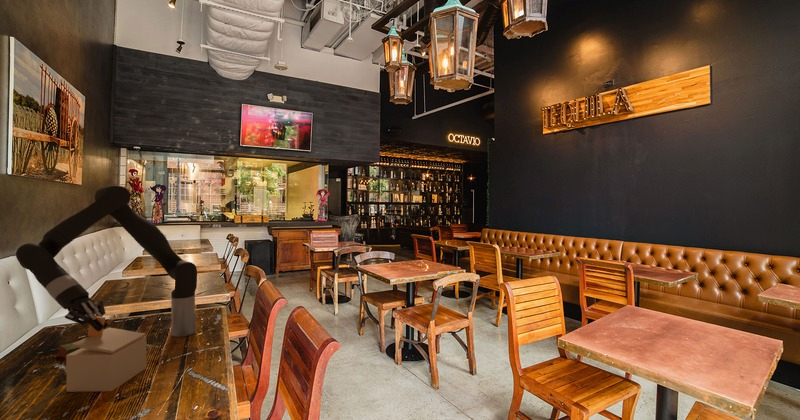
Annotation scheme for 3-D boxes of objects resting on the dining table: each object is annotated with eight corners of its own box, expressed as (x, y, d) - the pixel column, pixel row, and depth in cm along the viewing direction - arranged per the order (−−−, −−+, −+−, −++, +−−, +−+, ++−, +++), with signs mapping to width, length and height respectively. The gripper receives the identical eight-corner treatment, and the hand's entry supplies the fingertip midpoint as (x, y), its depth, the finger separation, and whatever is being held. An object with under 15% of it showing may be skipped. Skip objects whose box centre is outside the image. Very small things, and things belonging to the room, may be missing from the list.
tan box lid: (145, 335, 128) (148, 316, 128) (112, 353, 113) (116, 330, 113) (106, 329, 128) (109, 309, 128) (68, 345, 113) (72, 323, 113)
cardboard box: (146, 368, 129) (146, 336, 129) (111, 391, 113) (111, 354, 113) (107, 368, 129) (106, 336, 129) (66, 391, 113) (66, 355, 113)
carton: (117, 346, 149) (116, 336, 149) (66, 360, 135) (66, 349, 135) (108, 342, 154) (108, 332, 153) (58, 355, 140) (58, 345, 140)
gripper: (56, 288, 113) (95, 327, 114) (92, 279, 127) (126, 314, 127) (39, 305, 113) (78, 344, 114) (77, 294, 127) (111, 329, 127)
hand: (103, 328), depth 121 cm, fingers closed
